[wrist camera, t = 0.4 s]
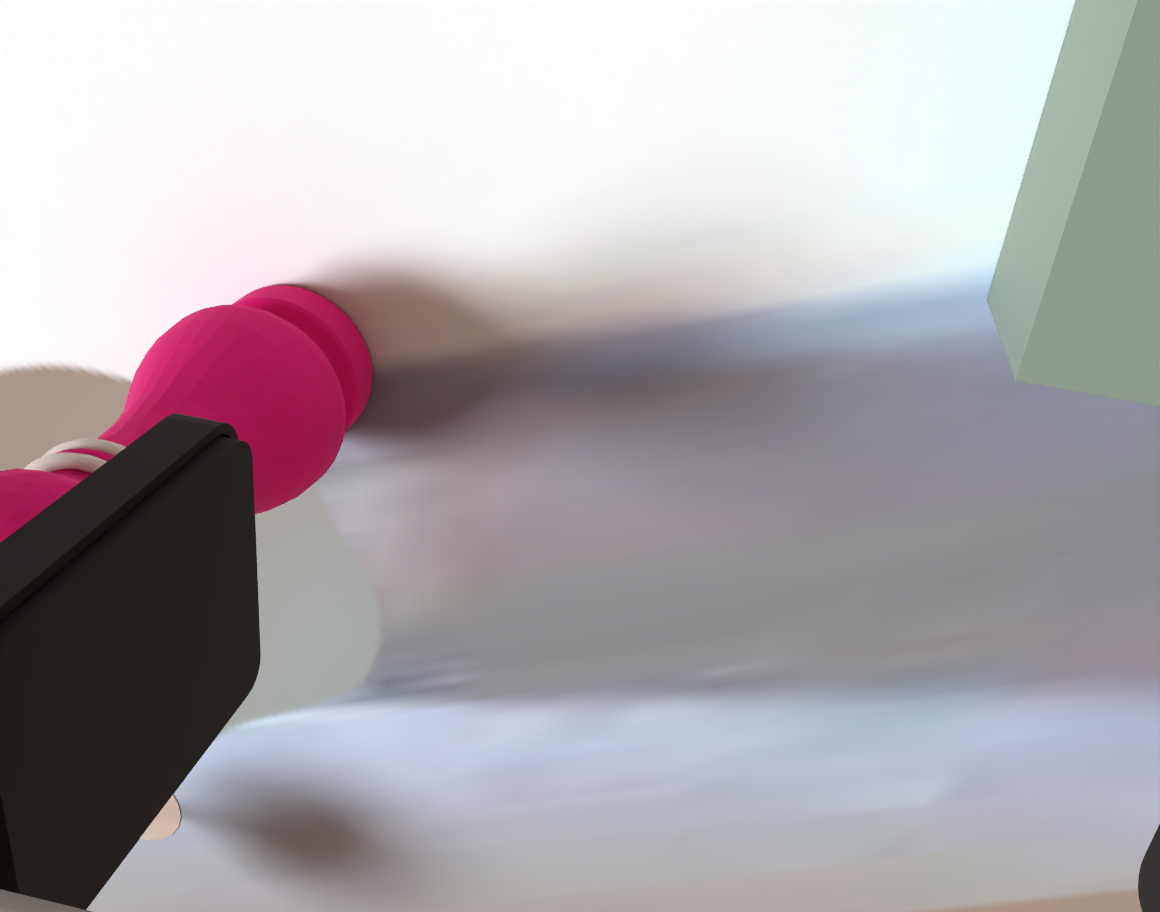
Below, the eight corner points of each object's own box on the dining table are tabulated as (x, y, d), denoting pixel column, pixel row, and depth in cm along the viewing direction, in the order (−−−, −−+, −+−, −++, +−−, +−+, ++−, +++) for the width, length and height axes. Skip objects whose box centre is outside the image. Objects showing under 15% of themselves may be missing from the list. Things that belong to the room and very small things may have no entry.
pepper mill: (413, 327, 41) (87, 643, 23) (353, 476, 44) (31, 849, 27) (237, 237, 41) (-220, 487, 23) (191, 394, 44) (-236, 714, 27)
